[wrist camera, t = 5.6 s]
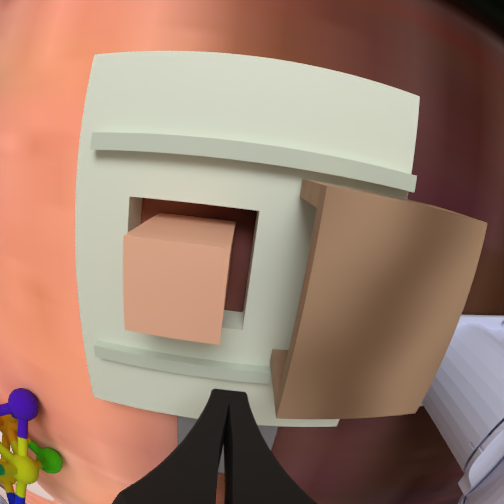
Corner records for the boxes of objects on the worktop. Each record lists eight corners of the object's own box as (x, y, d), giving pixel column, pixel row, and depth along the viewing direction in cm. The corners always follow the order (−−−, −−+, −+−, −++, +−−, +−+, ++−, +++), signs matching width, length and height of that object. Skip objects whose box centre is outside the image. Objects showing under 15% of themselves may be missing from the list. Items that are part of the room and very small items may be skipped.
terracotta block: (235, 221, 16) (230, 249, 11) (226, 293, 17) (219, 344, 12) (160, 212, 16) (123, 235, 11) (156, 283, 17) (124, 329, 12)
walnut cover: (433, 205, 14) (487, 223, 10) (386, 365, 16) (415, 413, 12) (302, 178, 13) (326, 185, 9) (269, 361, 16) (276, 418, 12)
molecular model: (71, 465, 23) (35, 544, 11) (19, 441, 22) (-22, 509, 11) (45, 390, 20) (-21, 485, 8) (-11, 364, 19) (-80, 436, 8)
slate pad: (277, 420, 20) (278, 425, 19) (262, 470, 22) (262, 475, 21) (179, 409, 20) (177, 415, 19) (180, 462, 21) (179, 467, 21)
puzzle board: (401, 102, 14) (425, 94, 12) (330, 406, 20) (338, 432, 17) (109, 64, 13) (89, 51, 11) (103, 379, 19) (90, 402, 16)
